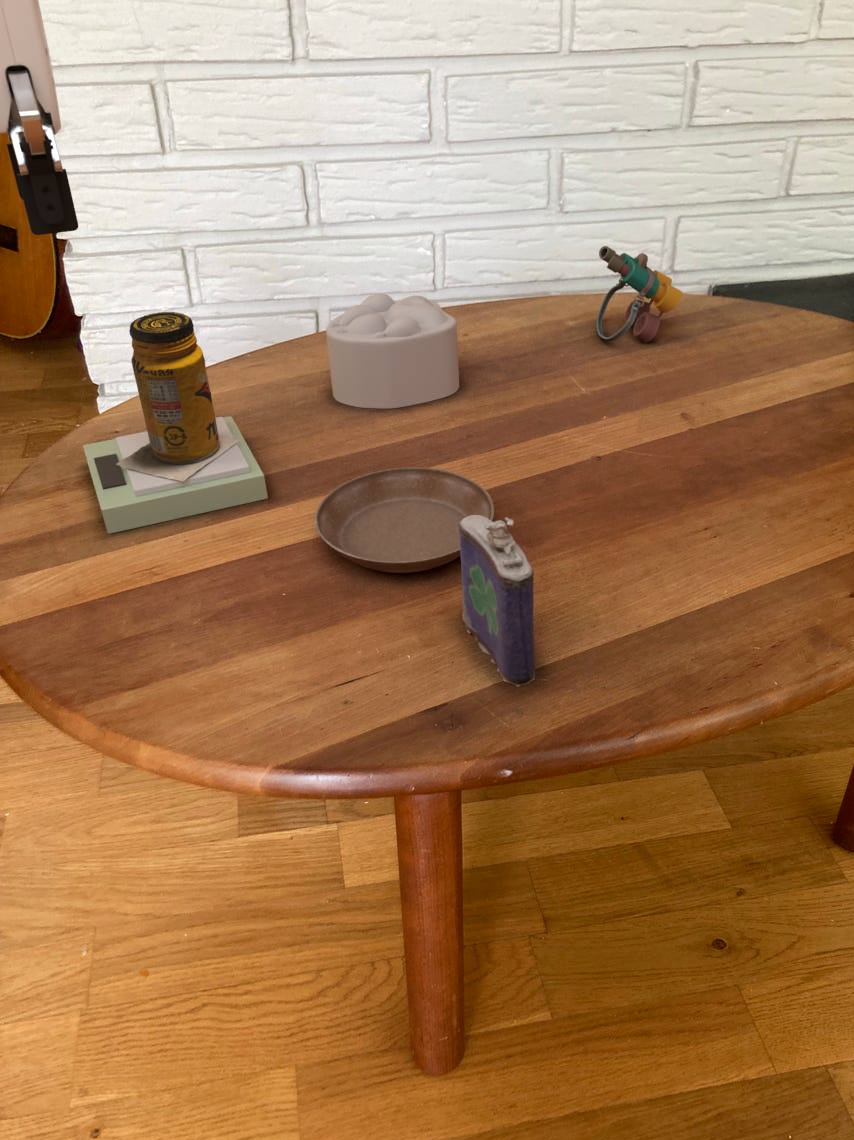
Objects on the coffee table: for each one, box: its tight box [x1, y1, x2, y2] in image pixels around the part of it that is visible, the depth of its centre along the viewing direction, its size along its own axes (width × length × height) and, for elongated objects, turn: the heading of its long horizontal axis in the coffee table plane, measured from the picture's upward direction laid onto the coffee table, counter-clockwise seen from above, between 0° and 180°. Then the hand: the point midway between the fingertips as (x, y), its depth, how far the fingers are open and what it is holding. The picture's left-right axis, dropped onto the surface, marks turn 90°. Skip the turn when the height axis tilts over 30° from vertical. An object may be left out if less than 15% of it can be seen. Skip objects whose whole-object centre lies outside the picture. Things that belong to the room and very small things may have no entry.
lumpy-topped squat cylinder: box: [325, 293, 460, 409], centre depth 112 cm, size 10×13×9 cm
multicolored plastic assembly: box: [596, 245, 683, 343], centre depth 121 cm, size 9×9×10 cm
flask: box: [459, 515, 536, 688], centre depth 75 cm, size 9×3×11 cm, turn 24°
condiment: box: [116, 311, 239, 481], centre depth 93 cm, size 7×8×12 cm
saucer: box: [314, 466, 495, 574], centre depth 90 cm, size 15×15×3 cm
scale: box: [82, 415, 269, 535], centre depth 98 cm, size 14×13×3 cm
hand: (48, 214), depth 80 cm, fingers open, 9 cm apart
